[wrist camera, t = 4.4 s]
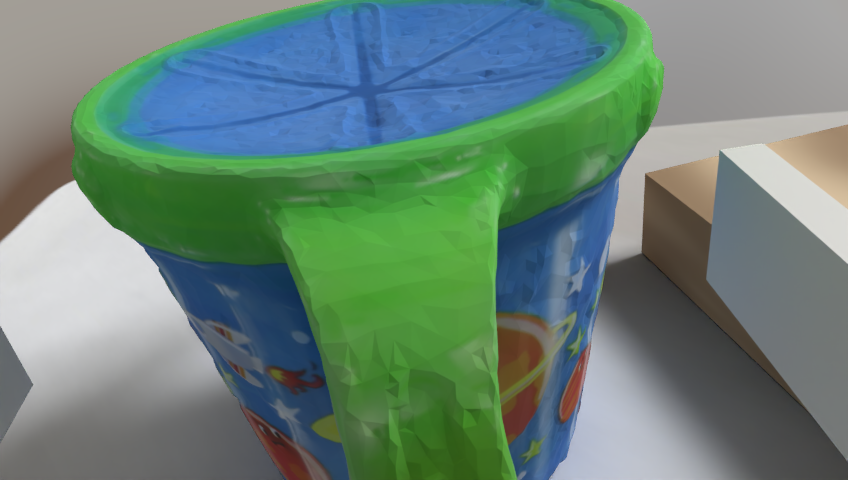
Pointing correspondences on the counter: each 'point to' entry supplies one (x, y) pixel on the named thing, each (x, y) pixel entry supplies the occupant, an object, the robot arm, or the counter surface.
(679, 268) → the oak base slab
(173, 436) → the counter surface
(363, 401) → the snack cup
